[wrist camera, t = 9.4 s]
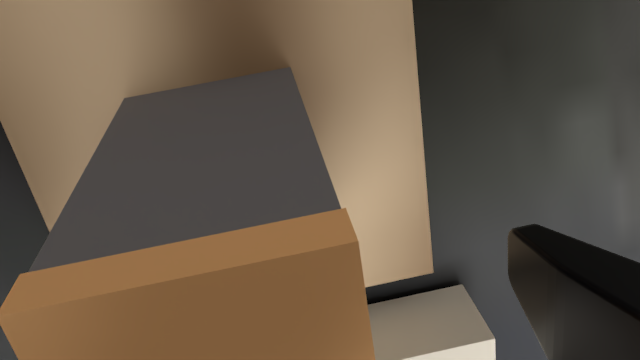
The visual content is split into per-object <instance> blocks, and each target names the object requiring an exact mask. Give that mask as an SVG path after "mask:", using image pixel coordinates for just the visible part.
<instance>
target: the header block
mask: <svg viewBox="0 0 640 360" xmlns="http://www.w3.org/2000/svg"><path fill="white" fill-rule="evenodd" d="M368 312H369V319H370V326H371V333H372V340H373V347H374V354H375V360H496V355H495V337H494V336H493V334H492V332H491V331H490V329H489V328H488V326H487V324H486V323H485V321H484V319H483V318H482V316H481V314H480V313H479V311H478V309H477V308H476V306H475V304H474V303H473V301H472V300H471V298H470V296H469V295H468V293H467V291H466V290H465V288H464V286H463V285H462V284H461V285H457V286H452V287H447V288H443V289H438V290H434V291H429V292H424V293H420V294H415V295H411V296H406V297H402V298H397V299H392V300H388V301H383V302H379V303H374V304H369V305H368Z"/></svg>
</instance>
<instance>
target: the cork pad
mask: <svg viewBox="0 0 640 360" xmlns="http://www.w3.org/2000/svg"><path fill="white" fill-rule="evenodd" d="M287 67H291V70H292V73H293V76H294V79H295V81H296V84H297V87H298V90H299V92H300V95H301V98H302V101H303V104H304V106H305V109H306V112H307V115H308V117H309V120H310V123H311V126H312V128H313V131H314V134H315V137H316V140H317V142H318V145H319V148H320V151H321V153H322V156H323V159H324V162H325V165H326V167H327V170H328V173H329V176H330V178H331V181H332V184H333V187H334V190H335V192H336V195H337V198H338V201H339V203H340V206H341V209H342V208H346V209H347V212H348V215H349V217H350V220H351V223H352V225H353V228H354V231H355V233H356V236H357V239H358V242H359V249H360V256H361V263H362V270H363V277H364V284H365V287H370V286H374V285H379V284H384V283H388V282H393V281H398V280H402V279H407V278H411V277H416V276H421V275H425V274H430V273H434V272H433V260H432V247H431V234H430V222H429V209H428V196H427V184H426V171H425V158H424V146H423V133H422V120H421V108H420V95H419V82H418V69H417V57H416V44H415V31H414V19H413V6H412V0H0V121H1V124H2V126H3V128H4V130H5V133H6V135H7V137H8V139H9V142H10V144H11V146H12V148H13V151H14V153H15V155H16V157H17V160H18V162H19V164H20V166H21V169H22V171H23V173H24V175H25V178H26V180H27V182H28V184H29V187H30V189H31V191H32V194H33V196H34V198H35V200H36V203H37V205H38V207H39V209H40V212H41V214H42V216H43V218H44V221H45V223H46V225H47V227H48V230H49V232H50V231H51V230H52V228H53V226H54V224H55V222H56V221H57V219H58V217H59V215H60V213H61V211H62V210H63V208H64V206H65V204H66V202H67V201H68V199H69V197H70V195H71V193H72V192H73V190H74V188H75V186H76V184H77V183H78V181H79V179H80V177H81V175H82V174H83V172H84V170H85V168H86V166H87V165H88V163H89V161H90V159H91V157H92V156H93V154H94V152H95V150H96V148H97V146H98V145H99V143H100V141H101V139H102V137H103V136H104V134H105V132H106V130H107V128H108V127H109V125H110V123H111V121H112V119H113V118H114V116H115V114H116V112H117V110H118V109H119V107H120V105H121V103H122V101H123V100H124V98H128V97H133V96H138V95H144V94H149V93H154V92H160V91H165V90H170V89H176V88H181V87H186V86H192V85H197V84H202V83H208V82H213V81H218V80H224V79H229V78H234V77H240V76H245V75H250V74H255V73H261V72H266V71H271V70H277V69H282V68H287Z"/></svg>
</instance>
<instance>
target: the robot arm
mask: <svg viewBox="0 0 640 360" xmlns="http://www.w3.org/2000/svg"><path fill="white" fill-rule="evenodd" d="M508 275H509V280H510V283H511V286H512V288H513V290H514V292H515V294H516V296H517V298H518V300H519V302H520V304H521V306H522V308H523V310H524V312H525V314H526V316H527V318H528V320H529V322H530V324H531V326H532V328H533V330H534V332H535V334H536V336H537V338H538V340H539V342H540V344H541V346H542V348H543V350H544V352H545V354H546V356H547V358H548V360H640V263H639V262H636V261H633V260H631V259H628V258H625V257H623V256H620V255H617V254H615V253H612V252H609V251H607V250H604V249H601V248H599V247H596V246H593V245H591V244H588V243H585V242H583V241H580V240H577V239H575V238H572V237H569V236H567V235H564V234H561V233H559V232H556V231H553V230H551V229H548V228H545V227H543V226H540V225H537V224H531V225H527V226H522V227H517V228H513V229H512V230H511V231H510V232H509V235H508Z"/></svg>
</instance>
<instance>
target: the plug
mask: <svg viewBox="0 0 640 360" xmlns="http://www.w3.org/2000/svg"><path fill="white" fill-rule="evenodd" d="M0 326H1V327H2V329H3V331H4V333H5V335H6V337H7V339H8V341H9V343H10V344H11V346H12V348H13V350H14V352H15V354H16V356H17V358H18V359H19V360H375V354H374V347H373V340H372V333H371V326H370V319H369V312H368V305H367V298H366V291H365V284H364V277H363V270H362V263H361V256H360V249H359V242H358V239H357V236H356V233H355V231H354V228H353V225H352V223H351V220H350V217H349V215H348V212H347V209H346V208H342V209H341V206H340V203H339V201H338V198H337V195H336V192H335V190H334V187H333V184H332V181H331V178H330V176H329V173H328V170H327V167H326V165H325V162H324V159H323V156H322V153H321V151H320V148H319V145H318V142H317V140H316V137H315V134H314V131H313V128H312V126H311V123H310V120H309V117H308V115H307V112H306V109H305V106H304V104H303V101H302V98H301V95H300V92H299V90H298V87H297V84H296V81H295V79H294V76H293V73H292V70H291V67H287V68H282V69H277V70H271V71H266V72H261V73H255V74H250V75H245V76H240V77H234V78H229V79H224V80H218V81H213V82H208V83H202V84H197V85H192V86H186V87H181V88H176V89H170V90H165V91H160V92H154V93H149V94H144V95H138V96H133V97H128V98H124V100H123V101H122V103H121V105H120V107H119V109H118V110H117V112H116V114H115V116H114V118H113V119H112V121H111V123H110V125H109V127H108V128H107V130H106V132H105V134H104V136H103V137H102V139H101V141H100V143H99V145H98V146H97V148H96V150H95V152H94V154H93V156H92V157H91V159H90V161H89V163H88V165H87V166H86V168H85V170H84V172H83V174H82V175H81V177H80V179H79V181H78V183H77V184H76V186H75V188H74V190H73V192H72V193H71V195H70V197H69V199H68V201H67V202H66V204H65V206H64V208H63V210H62V211H61V213H60V215H59V217H58V219H57V221H56V222H55V224H54V226H53V228H52V230H51V231H50V233H49V235H48V237H47V239H46V240H45V242H44V244H43V246H42V248H41V249H40V251H39V253H38V255H37V257H36V258H35V260H34V262H33V264H32V266H31V267H30V269H29V271H28V272H27V273H23V274H20V275H19V276H18V278H17V280H16V282H15V283H14V285H13V287H12V289H11V290H10V292H9V294H8V296H7V297H6V299H5V301H4V303H3V304H2V306H1V308H0Z"/></svg>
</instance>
